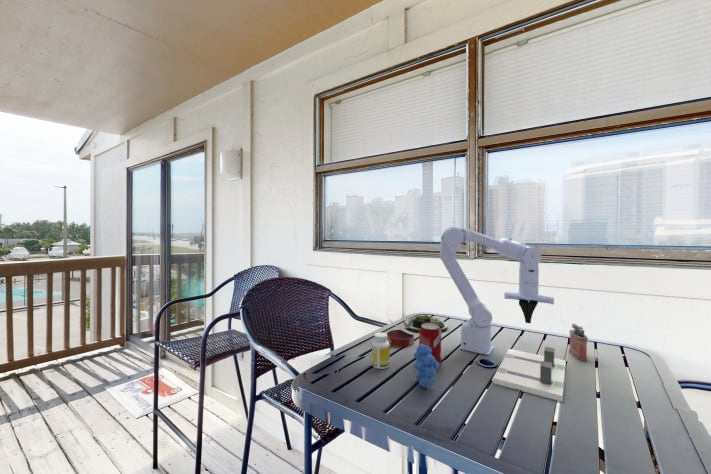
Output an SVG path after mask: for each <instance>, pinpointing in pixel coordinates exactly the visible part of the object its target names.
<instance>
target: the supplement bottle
mask: <svg viewBox="0 0 711 474" xmlns="http://www.w3.org/2000/svg"><path fill="white" fill-rule="evenodd" d="M373 337H374V338H373V339H374V340H373V341H372V343H371V344H372V345H371V348H372V349H371V351H372V354H371V356H372V357H371V361H372V364H371V365H372V366H373V368H375V369H379V370H384V369H388V368H389V367H390V365H391V364H390V361H391V359H390V355H391V354H390V351H391V350H390V344H389V342H388V341H387V333H386V332H380V331H379V332H376V333H374V336H373Z"/></svg>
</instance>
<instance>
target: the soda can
mask: <svg viewBox="0 0 711 474" xmlns="http://www.w3.org/2000/svg"><path fill="white" fill-rule="evenodd" d="M420 344H424V345H427V346H429V347H430V348H431V350H432V352H431V355H433V357H434V358H435V359H436V361H437V362H438V363H439V364H440V365H441V364H442V332H441V331H440V329H439V325H437V324H433V323H424V324H422V325H421V328H420V330H419V332H418V346H419V345H420Z"/></svg>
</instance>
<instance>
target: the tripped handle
mask: <svg viewBox="0 0 711 474" xmlns="http://www.w3.org/2000/svg"><path fill="white" fill-rule="evenodd" d="M551 380H552V363H549V362H544V361H542V362H541V366H540V382H542V383H546V384H550V385H551Z"/></svg>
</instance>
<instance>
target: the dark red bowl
mask: <svg viewBox="0 0 711 474" xmlns="http://www.w3.org/2000/svg"><path fill="white" fill-rule="evenodd" d="M388 320H389V321H390V323H392V324H393V325H394V326H395V327H397V328H398V329H394V330H390V331H388V332H387V333H386V334H387V341H388V342H389V345H391V346H392V347H397V348H399V347H400V348H405V347H406V348H407V347H411V346H413V345H414V344H415V343H414V339H415V334H414V333H413V331H412V332H411V331H410V330H407V328H406V329H405V328H403V327H401V326H399V325H397V324H395V323H394V322H393V321H392V320H391V319H390V318H389V319H388Z"/></svg>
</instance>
